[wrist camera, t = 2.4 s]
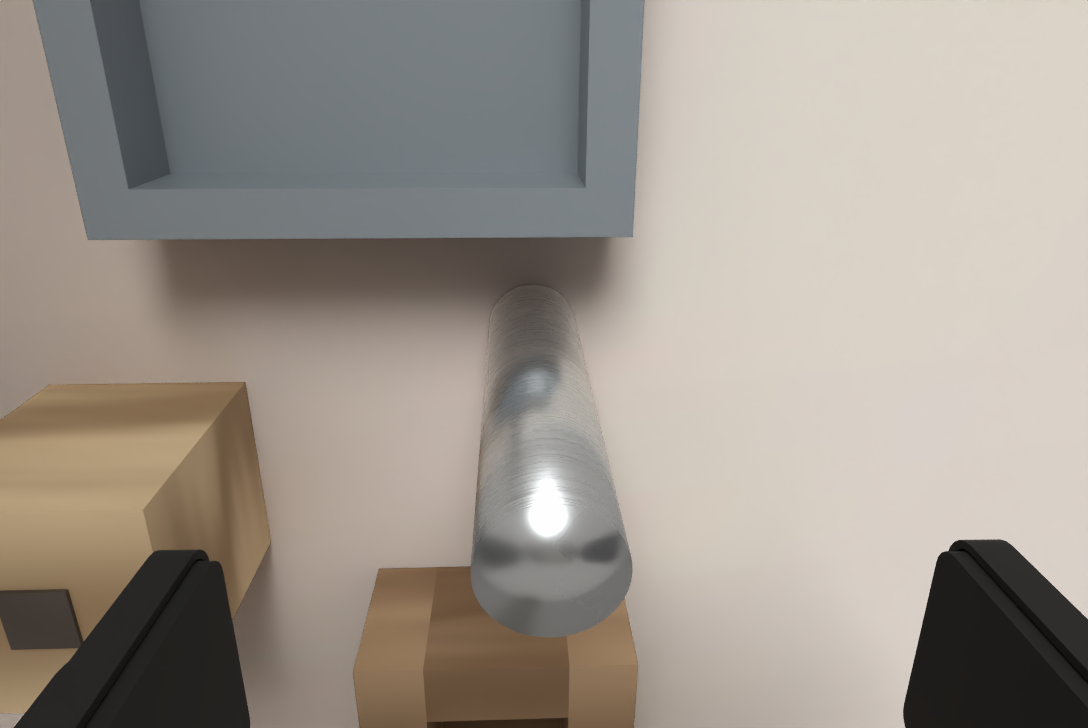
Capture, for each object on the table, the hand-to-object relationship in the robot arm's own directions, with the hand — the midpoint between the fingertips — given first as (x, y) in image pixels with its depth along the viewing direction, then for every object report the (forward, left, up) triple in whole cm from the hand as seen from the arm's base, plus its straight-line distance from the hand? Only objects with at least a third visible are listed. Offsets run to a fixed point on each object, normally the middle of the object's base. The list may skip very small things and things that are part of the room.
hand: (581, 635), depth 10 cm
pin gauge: (-1, 0, -11) cm, 11 cm away
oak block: (+3, -10, -11) cm, 15 cm away
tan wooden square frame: (+10, -1, -11) cm, 15 cm away
